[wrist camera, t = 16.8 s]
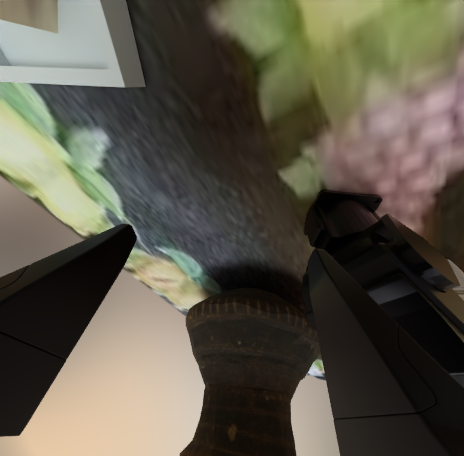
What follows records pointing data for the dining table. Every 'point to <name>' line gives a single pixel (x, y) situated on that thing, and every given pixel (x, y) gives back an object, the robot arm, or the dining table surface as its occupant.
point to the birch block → (31, 13)
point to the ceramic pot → (248, 371)
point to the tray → (74, 48)
